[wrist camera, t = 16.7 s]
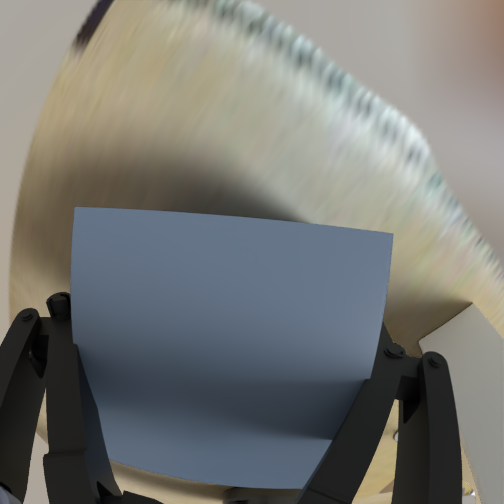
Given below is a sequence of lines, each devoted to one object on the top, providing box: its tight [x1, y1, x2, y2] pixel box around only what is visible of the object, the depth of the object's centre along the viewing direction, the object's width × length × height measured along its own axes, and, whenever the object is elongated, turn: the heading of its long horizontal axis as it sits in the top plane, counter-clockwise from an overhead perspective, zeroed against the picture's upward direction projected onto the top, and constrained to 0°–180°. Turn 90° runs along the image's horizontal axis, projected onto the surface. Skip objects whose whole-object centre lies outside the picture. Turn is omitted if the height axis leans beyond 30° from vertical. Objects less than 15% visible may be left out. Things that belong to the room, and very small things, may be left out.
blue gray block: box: [71, 207, 393, 489], centre depth 13 cm, size 10×10×9 cm
